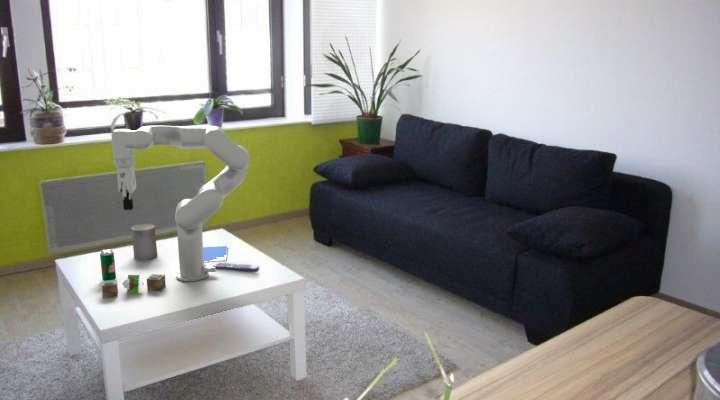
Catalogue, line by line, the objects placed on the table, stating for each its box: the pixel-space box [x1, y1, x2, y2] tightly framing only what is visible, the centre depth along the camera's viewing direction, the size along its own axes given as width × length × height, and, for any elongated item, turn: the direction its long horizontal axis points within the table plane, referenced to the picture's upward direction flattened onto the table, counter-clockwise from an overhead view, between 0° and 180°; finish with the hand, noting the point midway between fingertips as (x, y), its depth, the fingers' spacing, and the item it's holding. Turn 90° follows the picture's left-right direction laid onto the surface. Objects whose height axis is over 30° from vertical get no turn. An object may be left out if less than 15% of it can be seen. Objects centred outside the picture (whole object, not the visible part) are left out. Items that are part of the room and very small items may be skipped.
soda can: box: [99, 248, 117, 281], centre depth 252 cm, size 5×5×12 cm
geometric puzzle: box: [121, 274, 145, 294], centre depth 241 cm, size 7×7×8 cm
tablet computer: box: [203, 245, 229, 261], centre depth 283 cm, size 19×13×1 cm, turn 10°
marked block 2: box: [146, 273, 167, 293], centre depth 244 cm, size 5×5×5 cm
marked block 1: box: [101, 279, 119, 299], centre depth 238 cm, size 5×5×5 cm
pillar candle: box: [131, 223, 158, 261], centre depth 279 cm, size 10×10×15 cm
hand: (128, 209), depth 246 cm, fingers closed
